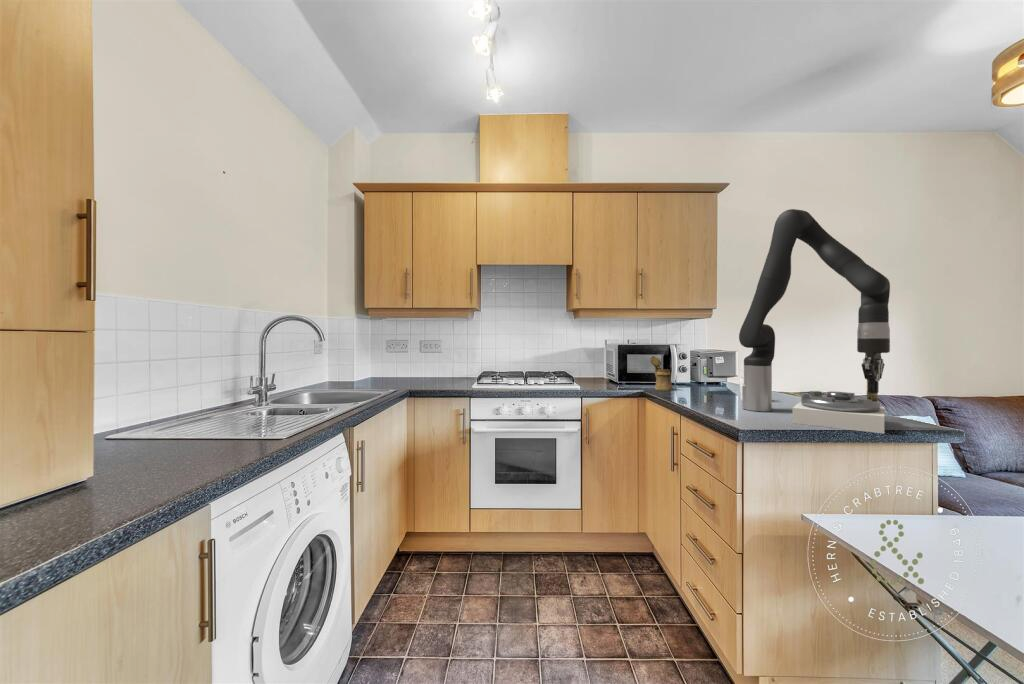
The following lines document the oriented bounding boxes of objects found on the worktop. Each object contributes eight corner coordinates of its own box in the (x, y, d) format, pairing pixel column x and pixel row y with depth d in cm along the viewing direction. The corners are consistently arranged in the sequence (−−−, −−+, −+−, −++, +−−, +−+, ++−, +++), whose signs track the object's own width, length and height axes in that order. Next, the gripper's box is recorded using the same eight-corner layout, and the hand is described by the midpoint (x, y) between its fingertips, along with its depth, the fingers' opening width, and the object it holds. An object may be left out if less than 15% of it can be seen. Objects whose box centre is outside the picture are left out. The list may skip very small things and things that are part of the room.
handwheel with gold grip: (808, 409, 126) (808, 379, 126) (795, 400, 144) (795, 373, 144) (891, 414, 118) (891, 381, 118) (866, 403, 136) (866, 375, 135)
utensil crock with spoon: (659, 387, 225) (659, 355, 225) (676, 390, 212) (676, 356, 212) (646, 388, 222) (646, 356, 222) (662, 391, 209) (662, 357, 209)
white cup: (762, 402, 173) (762, 379, 173) (743, 401, 175) (743, 378, 174) (755, 399, 181) (755, 377, 181) (736, 398, 182) (736, 377, 182)
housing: (792, 423, 131) (792, 407, 130) (802, 413, 147) (802, 399, 147) (884, 433, 115) (884, 416, 115) (884, 421, 132) (884, 406, 131)
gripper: (882, 337, 117) (882, 396, 117) (895, 337, 125) (895, 393, 124) (850, 337, 123) (850, 393, 123) (864, 337, 131) (864, 390, 131)
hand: (873, 393), depth 124 cm, fingers closed
